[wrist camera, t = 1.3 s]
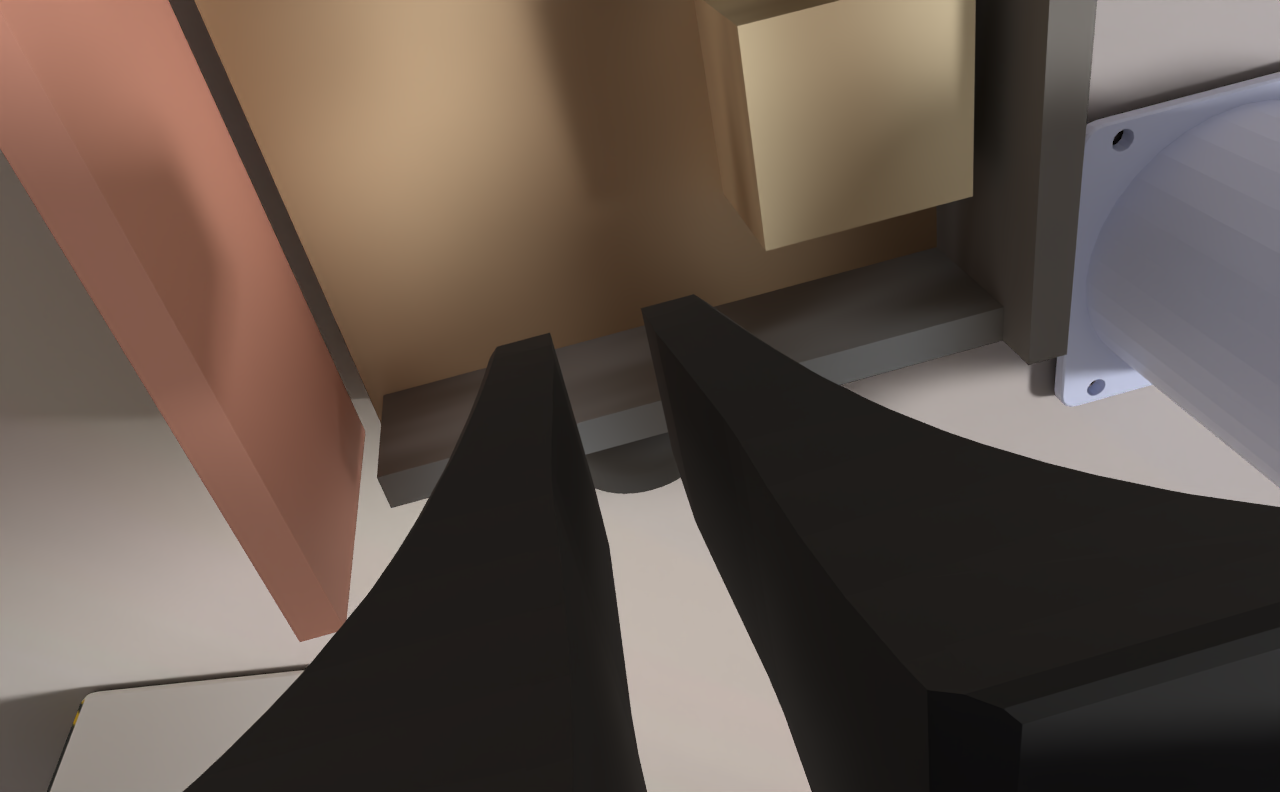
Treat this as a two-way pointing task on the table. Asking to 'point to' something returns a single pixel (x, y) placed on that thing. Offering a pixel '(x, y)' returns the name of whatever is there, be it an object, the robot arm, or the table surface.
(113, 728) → the medicine bottle
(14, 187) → the table surface
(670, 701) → the table surface
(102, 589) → the table surface
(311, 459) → the panel
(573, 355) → the trailer
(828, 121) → the beige square block
